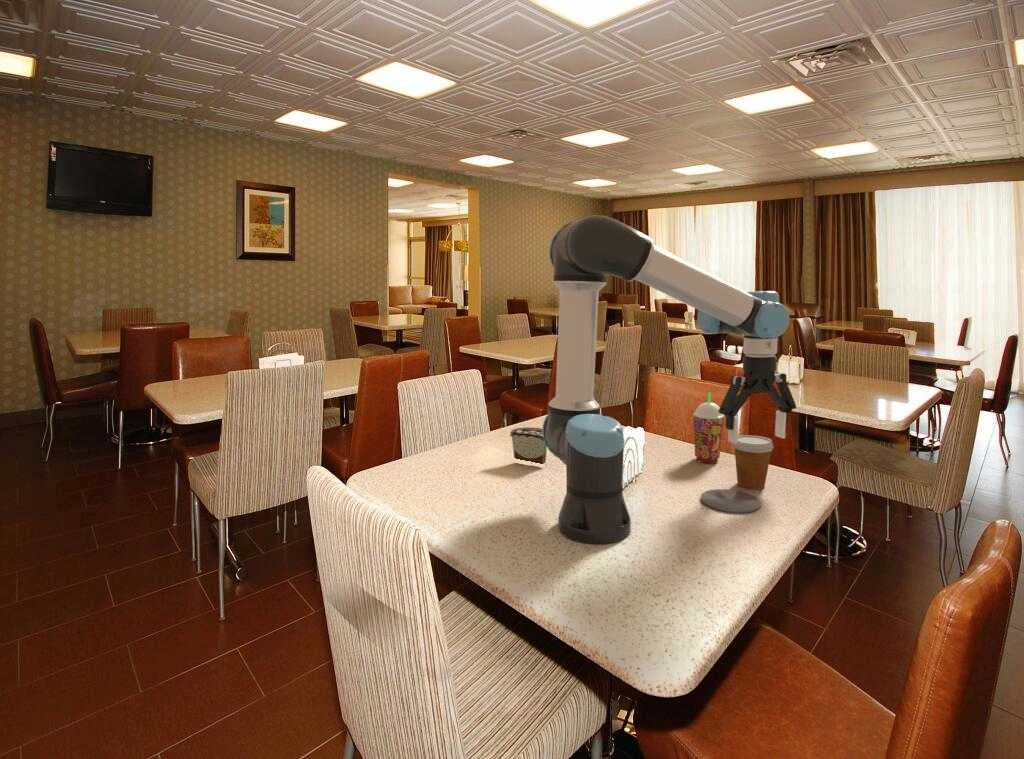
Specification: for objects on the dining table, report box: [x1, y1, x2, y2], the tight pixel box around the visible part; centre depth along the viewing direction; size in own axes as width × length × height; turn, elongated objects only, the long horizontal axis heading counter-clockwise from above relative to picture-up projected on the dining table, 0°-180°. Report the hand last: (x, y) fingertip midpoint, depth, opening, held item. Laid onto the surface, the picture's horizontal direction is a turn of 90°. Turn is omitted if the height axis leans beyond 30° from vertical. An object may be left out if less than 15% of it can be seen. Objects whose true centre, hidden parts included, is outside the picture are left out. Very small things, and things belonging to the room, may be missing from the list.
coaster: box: [700, 488, 761, 514], centre depth 131 cm, size 13×13×1 cm
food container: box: [509, 426, 548, 464], centre depth 162 cm, size 12×6×10 cm, turn 58°
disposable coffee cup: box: [732, 434, 775, 491], centre depth 141 cm, size 10×10×12 cm
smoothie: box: [693, 392, 725, 464], centre depth 161 cm, size 8×8×20 cm
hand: (756, 439), depth 139 cm, fingers open, 13 cm apart
